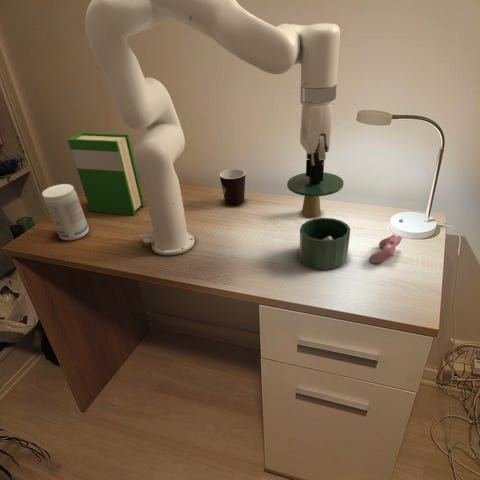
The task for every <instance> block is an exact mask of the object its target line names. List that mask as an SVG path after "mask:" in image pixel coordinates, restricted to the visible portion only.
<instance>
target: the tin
mask: <svg viewBox="0 0 480 480" xmlns="http://www.w3.org/2000/svg"><path fill="white" fill-rule="evenodd" d="M350 235H351V227H350V226H349V224H348V223H346V222H344V221H343V220H340V219H337V218H332V217H316V218H311V219H309V220H307V221H305V222H304V223H303V224H301V226H300V229H299V252H298V253H299V254H298V256H299V260H300V262H301V263H302V265H304V266H306V267H307V268H310V269H313V270H317V271H332V270H335V269H339V268H341V267H343V266H344V265H345V264H346V263H347V260H348V253H349V245H350V238H351V237H350ZM328 236H331V237H332V239H333V240H323V239H324V238H326V237H328Z"/></svg>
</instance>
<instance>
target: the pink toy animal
mask: <svg viewBox="0 0 480 480" xmlns="http://www.w3.org/2000/svg"><path fill="white" fill-rule="evenodd" d="M402 240H403V237H402V236H400V235H398V234H396V233H394V234H392V235H390V236H388V237H386V238H384V239H382V240H380V241H379V242H378V246H379V247H380V248H381V250H378V251H377V252H375V253H372V254H370V256H369V258H368V259H369V260H368V261H369V262H370V263H373V264H378V263H381V262H384V261H387V260H388V259H389V258H393V257H395V255H396V253H395V251H396V247H398V246H399V244H400V243H401V241H402Z"/></svg>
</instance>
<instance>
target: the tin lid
mask: <svg viewBox="0 0 480 480" xmlns="http://www.w3.org/2000/svg"><path fill="white" fill-rule="evenodd" d="M315 158H316V156H315ZM311 159H312V157H310V165H311ZM286 187H287V189H288V190H289V191H290V192H292V193H293V194H296V195H299V196H319V197H325V196H329V195H334V194H336V193H338V192H340V191H341V190H342V189H343V188H344V180H343V178H341V176H339V175H337V174H334V173H330V172H325V171H324V172H323V181H319V182H310V181H309V177H307V176H306V172H303V173H299V174H296V175H294V176H292V177H290V178H289V179H288V180H287V182H286Z"/></svg>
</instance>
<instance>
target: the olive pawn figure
mask: <svg viewBox="0 0 480 480" xmlns="http://www.w3.org/2000/svg"><path fill="white" fill-rule="evenodd" d="M321 214H322V213H321V201H320V196H304V198H303V203H302V208H301V216H302V217H304V218H306V219H317V218H320V216H321Z"/></svg>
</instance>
